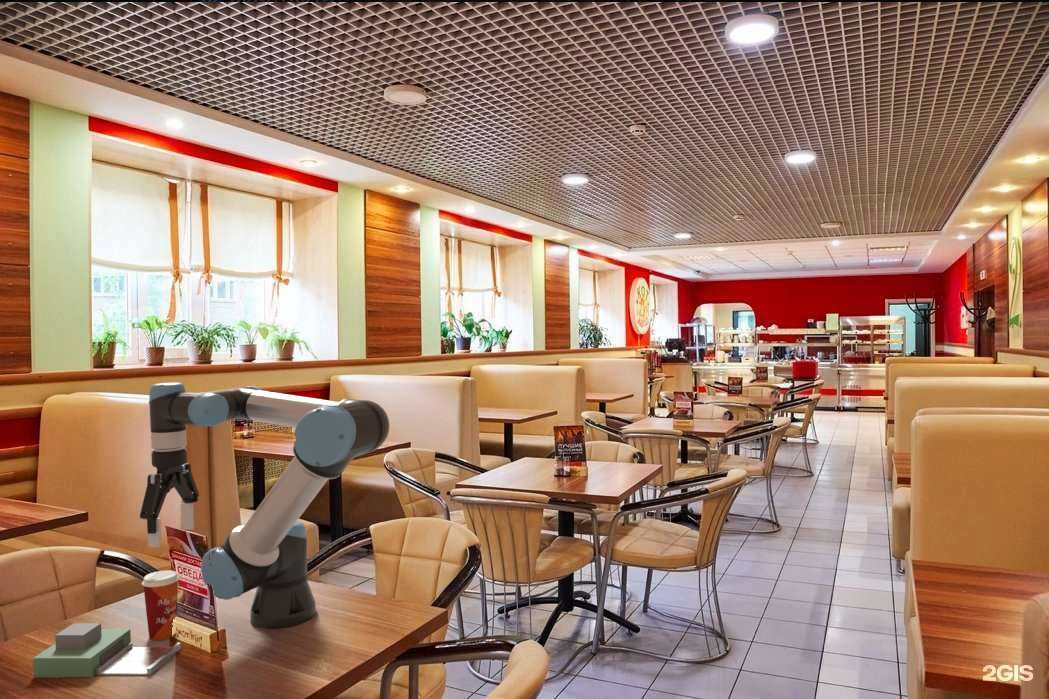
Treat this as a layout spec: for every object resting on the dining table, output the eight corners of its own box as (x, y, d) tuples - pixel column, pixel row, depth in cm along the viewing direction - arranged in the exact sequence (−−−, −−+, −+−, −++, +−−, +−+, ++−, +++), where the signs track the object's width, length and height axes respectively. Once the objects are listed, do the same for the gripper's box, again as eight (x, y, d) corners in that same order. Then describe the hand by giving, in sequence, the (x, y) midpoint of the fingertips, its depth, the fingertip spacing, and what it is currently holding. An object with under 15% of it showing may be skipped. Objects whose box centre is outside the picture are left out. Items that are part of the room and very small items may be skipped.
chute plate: (180, 648, 162) (180, 642, 162) (150, 675, 150) (150, 668, 150) (129, 648, 162) (129, 642, 162) (95, 675, 150) (95, 668, 150)
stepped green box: (132, 646, 163) (130, 615, 163) (92, 677, 149) (91, 643, 149) (78, 646, 164) (77, 615, 163) (33, 677, 150) (32, 643, 149)
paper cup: (166, 643, 164) (163, 582, 164) (136, 641, 166) (133, 580, 165) (188, 629, 172) (186, 570, 171) (160, 627, 174) (157, 568, 173)
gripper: (183, 439, 186) (186, 522, 187) (119, 458, 161) (123, 554, 162) (211, 439, 185) (214, 523, 186) (152, 458, 160) (155, 554, 161)
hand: (172, 537), depth 174 cm, fingers open, 13 cm apart
